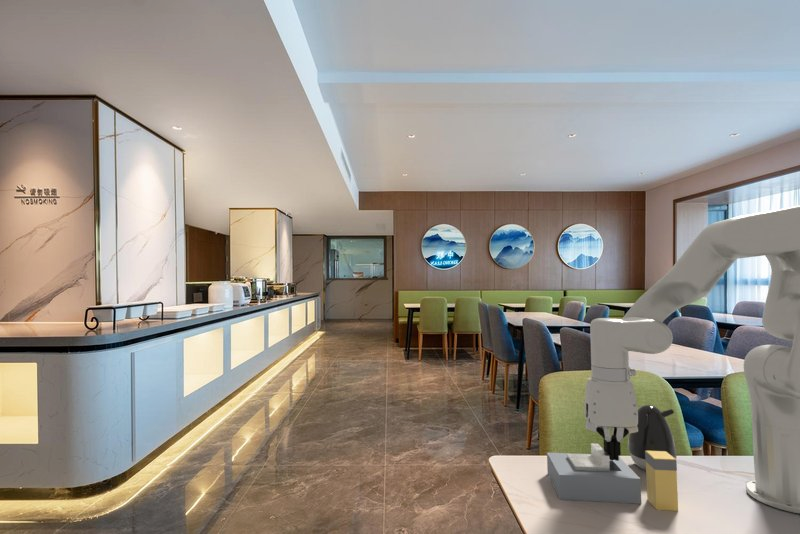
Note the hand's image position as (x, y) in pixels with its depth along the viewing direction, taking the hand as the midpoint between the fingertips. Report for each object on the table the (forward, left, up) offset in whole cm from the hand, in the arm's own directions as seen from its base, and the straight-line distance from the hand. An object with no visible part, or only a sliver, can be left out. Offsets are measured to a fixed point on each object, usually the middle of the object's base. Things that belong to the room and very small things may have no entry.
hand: (612, 457), depth 92 cm
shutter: (+5, 0, -2) cm, 5 cm away
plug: (-7, +6, -7) cm, 12 cm away
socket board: (+5, 0, -7) cm, 8 cm away
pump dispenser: (-13, -12, -7) cm, 19 cm away
